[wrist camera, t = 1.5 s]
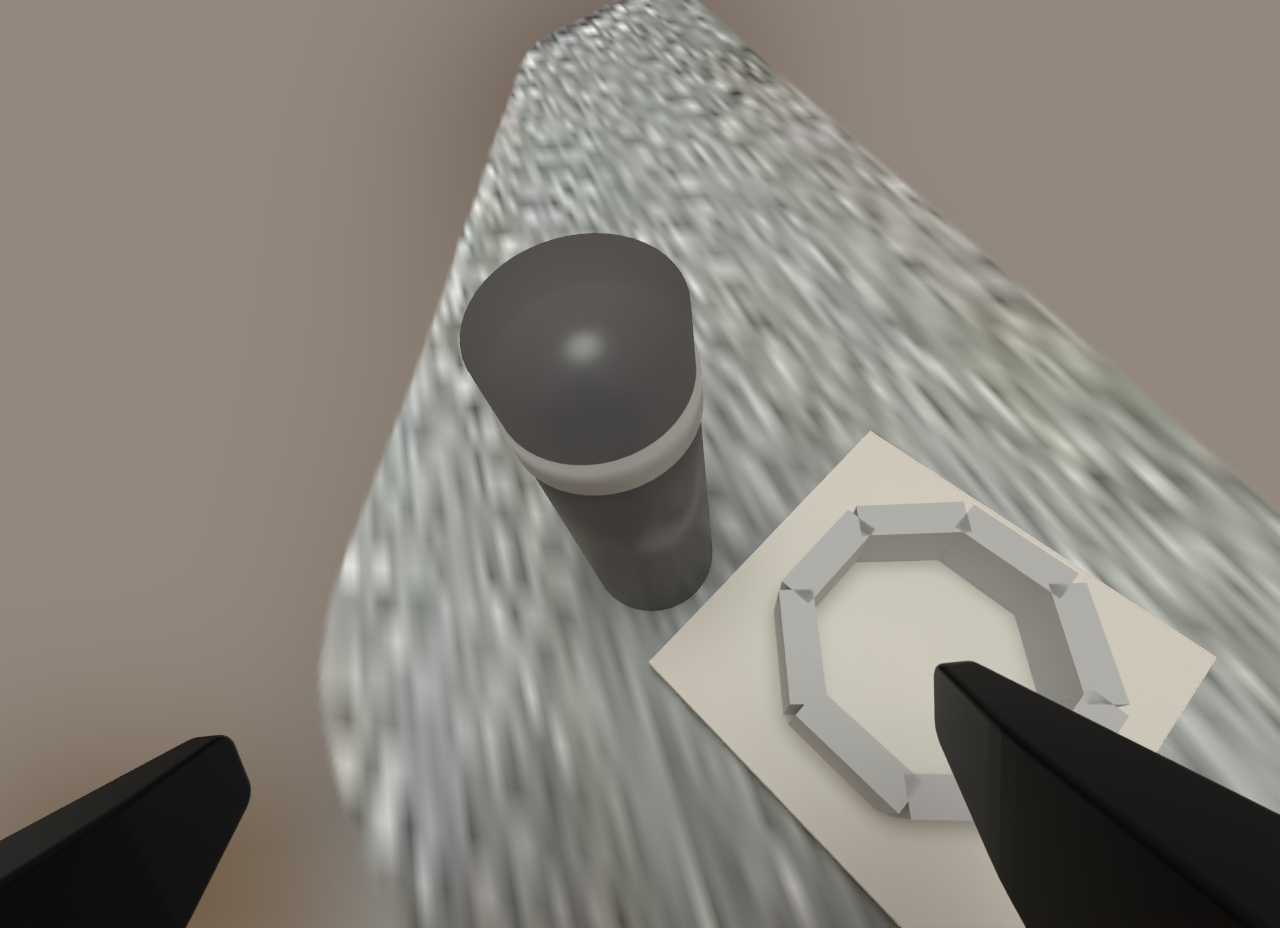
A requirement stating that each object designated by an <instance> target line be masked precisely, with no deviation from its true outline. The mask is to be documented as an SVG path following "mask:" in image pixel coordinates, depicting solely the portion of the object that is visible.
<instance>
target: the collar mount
mask: <svg viewBox="0 0 1280 928" xmlns="http://www.w3.org/2000/svg"><path fill="white" fill-rule="evenodd" d="M1216 658H1217V657H1215V656H1214V655H1212V654H1211V653H1209V652H1208V651H1206V650H1205V649H1203V648H1202V647H1200V646H1198V645H1197V644H1195V643H1194V642H1192V641H1191V640H1189V639H1188V638H1186V637H1185V636H1183V635H1182V634H1180V633H1179V632H1177V631H1176V630H1174V629H1172V628H1171V627H1169V626H1168V625H1166V624H1165V623H1163V622H1162V621H1160V620H1159V619H1157V618H1156V617H1154V616H1153V615H1151V614H1150V613H1148V612H1146V611H1145V610H1143V609H1142V608H1140V607H1139V606H1137V605H1136V604H1134V603H1133V602H1131V601H1130V600H1128V599H1127V598H1125V597H1124V596H1122V595H1120V594H1119V593H1117V592H1116V591H1114V590H1113V589H1111V588H1110V587H1108V586H1107V585H1105V584H1104V583H1102V582H1101V581H1099V580H1097V579H1096V578H1094V577H1093V576H1091V575H1090V574H1088V573H1087V572H1085V571H1084V570H1082V569H1081V568H1079V567H1078V566H1076V565H1075V564H1073V563H1071V562H1070V561H1068V560H1067V559H1065V558H1064V557H1062V556H1061V555H1059V554H1058V553H1056V552H1055V551H1053V550H1052V549H1050V548H1049V547H1047V546H1045V545H1044V544H1042V543H1041V542H1039V541H1038V540H1036V539H1035V538H1033V537H1032V536H1030V535H1029V534H1027V533H1026V532H1024V531H1023V530H1021V529H1019V528H1018V527H1016V526H1015V525H1013V524H1012V523H1010V522H1009V521H1007V520H1006V519H1004V518H1003V517H1001V516H1000V515H998V514H997V513H995V512H993V511H992V510H990V509H989V508H987V507H986V506H984V505H983V504H981V503H980V502H978V501H977V500H975V499H974V498H972V497H971V496H969V495H967V494H966V493H964V492H963V491H961V490H960V489H958V488H957V487H955V486H954V485H952V484H951V483H949V482H948V481H946V480H945V479H943V478H941V477H940V476H938V475H937V474H935V473H934V472H932V471H931V470H929V469H928V468H926V467H925V466H923V465H922V464H920V463H919V462H917V461H915V460H914V459H912V458H911V457H909V456H908V455H906V454H905V453H903V452H902V451H900V450H899V449H897V448H896V447H894V446H893V445H891V444H889V443H888V442H886V441H885V440H883V439H882V438H880V437H879V436H877V435H876V434H874V433H873V432H871V431H870V432H869V433H868V434H867V435H866V436H865V437H864V438H863V439H862V440H861V441H860V442H859V443H858V444H857V445H856V446H855V447H854V448H853V449H852V450H851V451H850V453H849V454H848V455H847V456H846V457H845V458H844V459H843V460H842V461H841V462H840V463H839V464H838V465H837V466H836V467H835V468H834V469H833V470H832V471H831V472H830V473H829V474H828V475H827V477H826V478H825V479H824V480H823V481H822V482H821V483H820V484H819V485H818V486H817V487H816V488H815V489H814V490H813V491H812V492H811V493H810V494H809V495H808V496H807V497H806V498H805V499H804V501H803V502H802V503H801V504H800V505H799V506H798V507H797V508H796V509H795V510H794V511H793V512H792V513H791V514H790V515H789V516H788V517H787V518H786V519H785V520H784V521H783V522H782V523H781V525H780V526H779V527H778V528H777V529H776V530H775V531H774V532H773V533H772V534H771V535H770V536H769V537H768V538H767V539H766V540H765V541H764V542H763V543H762V544H761V545H760V546H759V547H758V549H757V550H756V551H755V552H754V553H753V554H752V555H751V556H750V557H749V558H748V559H747V560H746V561H745V562H744V563H743V564H742V565H741V566H740V567H739V568H738V569H737V570H736V571H735V573H734V574H733V575H732V576H731V577H730V578H729V579H728V580H727V581H726V582H725V583H724V584H723V585H722V586H721V587H720V588H719V589H718V590H717V591H716V592H715V593H714V594H713V595H712V597H711V598H710V599H709V600H708V601H707V602H706V603H705V604H704V605H703V606H702V607H701V608H700V609H699V610H698V611H697V612H696V613H695V614H694V615H693V616H692V617H691V618H690V619H689V620H688V622H687V623H686V624H685V625H684V626H683V627H682V628H681V629H680V630H679V631H678V632H677V633H676V634H675V635H674V636H673V637H672V638H671V639H670V640H669V641H668V642H667V643H666V644H665V646H664V647H663V648H662V649H661V650H660V651H659V652H658V653H657V654H656V655H655V656H654V657H653V658H652V659H651V660H650V661H649V664H650V665H651V667H652V668H653V669H654V670H655V671H656V672H657V673H658V674H659V675H660V676H661V678H662V679H663V680H664V681H665V682H666V683H667V684H668V685H669V686H670V687H671V688H672V689H673V690H674V691H675V692H676V693H677V694H678V695H679V696H680V697H681V699H682V700H683V701H684V702H685V703H686V704H687V705H688V706H689V707H690V708H691V709H692V710H693V711H694V712H695V713H696V714H697V715H698V716H699V717H700V718H701V720H702V721H703V722H704V723H705V724H706V725H707V726H708V727H709V728H710V729H711V730H712V731H713V732H714V733H715V734H716V735H717V736H718V737H719V738H720V739H721V740H722V742H723V743H724V744H725V745H726V746H727V747H728V748H729V749H730V750H731V751H732V752H733V753H734V754H735V755H736V756H737V757H738V758H739V759H740V760H741V761H742V763H743V764H744V765H745V766H746V767H747V768H748V769H749V770H750V771H751V772H752V773H753V774H754V775H755V776H756V777H757V778H758V779H759V780H760V781H761V782H762V784H763V785H764V786H765V787H766V788H767V789H768V790H769V791H770V792H771V793H772V794H773V795H774V796H775V797H776V798H777V799H778V800H779V801H780V802H781V803H782V804H783V806H784V807H785V808H786V809H787V810H788V811H789V812H790V813H791V814H792V815H793V816H794V817H795V818H796V819H797V820H798V821H799V822H800V823H801V824H802V825H803V827H804V828H805V829H806V830H807V831H808V832H809V833H810V834H811V835H812V836H813V837H814V838H815V839H816V840H817V841H818V842H819V843H820V844H821V845H822V846H823V848H824V849H825V850H826V851H827V852H828V853H829V854H830V855H831V856H832V857H833V858H834V859H835V860H836V861H837V862H838V863H839V864H840V865H841V866H842V867H843V869H844V870H845V871H846V872H847V873H848V874H849V875H850V876H851V877H852V878H853V879H854V880H855V881H856V882H857V883H858V884H859V885H860V886H861V887H862V888H863V889H864V891H865V892H866V893H867V894H868V895H869V896H870V897H871V898H872V899H873V900H874V901H875V902H876V903H877V904H878V905H879V906H880V907H881V908H882V909H883V910H884V912H885V913H886V914H887V915H888V916H889V917H890V918H891V919H892V920H893V921H894V922H895V923H896V924H897V925H898V926H899V927H900V928H1026V927H1025V926H1024V924H1023V922H1022V920H1021V918H1020V917H1019V915H1018V913H1017V911H1016V909H1015V908H1014V906H1013V904H1012V902H1011V900H1010V898H1009V896H1008V895H1007V893H1006V891H1005V889H1004V887H1003V885H1002V883H1001V881H1000V879H999V877H998V875H997V873H996V871H995V869H994V866H993V864H992V862H991V860H990V858H989V856H988V853H987V851H986V849H985V846H984V844H983V842H982V840H981V837H980V835H979V833H978V830H977V828H976V826H975V823H974V821H973V819H972V817H971V814H970V812H969V810H968V807H967V805H966V803H965V801H964V798H963V796H962V794H961V791H960V789H959V787H958V784H957V782H956V780H955V778H954V775H953V773H952V771H951V768H950V766H949V764H948V762H947V759H946V757H945V755H944V752H943V750H942V748H941V745H940V743H939V740H938V737H937V733H936V729H935V721H934V671H935V667H936V666H937V665H939V664H940V663H948V662H958V661H974V662H976V663H979V664H981V665H983V666H985V667H987V668H989V669H991V670H993V671H995V672H997V673H999V674H1001V675H1003V676H1005V677H1007V678H1009V679H1011V680H1013V681H1015V682H1017V683H1019V684H1021V685H1023V686H1025V687H1027V688H1029V689H1030V690H1032V691H1034V692H1036V693H1038V694H1040V695H1042V696H1044V697H1046V698H1048V699H1050V700H1052V701H1054V702H1056V703H1058V704H1060V705H1062V706H1064V707H1066V708H1068V709H1070V710H1072V711H1074V712H1076V713H1078V714H1080V715H1082V716H1084V717H1086V718H1088V719H1090V720H1092V721H1094V722H1096V723H1098V724H1100V725H1102V726H1104V727H1106V728H1108V729H1110V730H1112V731H1114V732H1116V733H1118V734H1120V735H1122V736H1124V737H1126V738H1128V739H1130V740H1132V741H1134V742H1136V743H1138V744H1140V745H1142V746H1144V747H1146V748H1148V749H1150V750H1152V751H1154V752H1156V753H1157V751H1158V749H1159V748H1160V746H1161V745H1162V743H1163V742H1164V740H1165V738H1166V737H1167V735H1168V734H1169V732H1170V731H1171V729H1172V727H1173V726H1174V724H1175V723H1176V721H1177V719H1178V718H1179V716H1180V715H1181V713H1182V712H1183V710H1184V708H1185V707H1186V705H1187V704H1188V702H1189V701H1190V699H1191V697H1192V696H1193V694H1194V693H1195V691H1196V689H1197V688H1198V686H1199V685H1200V683H1201V682H1202V680H1203V678H1204V677H1205V675H1206V674H1207V672H1208V671H1209V669H1210V667H1211V666H1212V664H1213V663H1214V661H1215V660H1216Z"/></svg>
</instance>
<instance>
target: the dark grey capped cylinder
mask: <svg viewBox="0 0 1280 928" xmlns="http://www.w3.org/2000/svg"><path fill="white" fill-rule="evenodd" d="M460 348H461V353H462V358H463V361H464V363H465V365H466V368H467V370H468V372H469V373H470V375H471V376H472V378H473V379H474V381H475V383H476V384H477V386H478V387H479V389H480V391H481V392H482V394H483V395H484V397H485V398H486V400H487V402H488V403H489V405H490V406H491V409H492V413H493V417H494V419H495V422H496V424H497V426H498V428H499V429H500V431H501V433H502V434H503V436H504V437H505V439H506V440H507V442H508V444H509V445H510V447H511V448H512V450H513V451H514V453H515V454H516V456H517V457H518V459H519V461H520V462H521V463H522V465H523V466H524V467H525V468H526V469H527V470H528V471H529V472H530V473H531V474H532V475H533V476H535V478H536V479H537V481H538V482H539V484H540V486H541V487H542V489H543V490H544V492H545V493H546V495H547V497H548V498H549V500H550V501H551V503H552V505H553V506H554V508H555V509H556V511H557V512H558V514H559V516H560V517H561V519H562V520H563V522H564V524H565V525H566V527H567V528H568V530H569V531H570V533H571V535H572V536H573V538H574V539H575V541H576V543H577V544H578V546H579V547H580V549H581V550H582V552H583V554H584V555H585V557H586V558H587V560H588V562H589V563H590V565H591V566H592V568H593V569H594V571H595V573H596V574H597V576H598V577H599V579H600V581H601V582H602V584H603V585H604V587H605V588H606V590H607V591H608V592H609V593H610V594H611V595H612V596H613V597H614V598H615V599H617V600H618V601H620V602H621V603H623V604H625V605H627V606H629V607H632V608H636V609H640V610H649V611H654V610H663V609H667V608H671V607H673V606H676V605H678V604H680V603H682V602H684V601H685V600H687V599H688V598H690V597H691V596H692V595H693V594H694V593H695V592H696V591H697V590H698V589H699V588H700V586H701V585H702V583H703V582H704V580H705V579H706V576H707V574H708V572H709V569H710V566H711V560H712V543H711V531H710V520H709V508H708V497H707V485H706V474H705V462H704V451H703V439H702V428H701V418H702V413H703V388H702V374H701V364H700V356H699V353H698V349H697V346H696V344H695V342H694V336H693V324H692V312H691V302H690V294H689V290H688V287H687V284H686V281H685V279H684V278H683V276H682V274H681V272H680V271H679V269H678V268H677V267H676V265H675V264H674V263H673V262H672V261H671V260H670V259H669V258H668V257H667V256H666V255H664V254H663V253H662V252H660V251H659V250H657V249H656V248H654V247H652V246H650V245H648V244H646V243H644V242H641V241H639V240H636V239H633V238H629V237H625V236H621V235H614V234H603V233H589V234H577V235H570V236H565V237H561V238H557V239H553V240H550V241H547V242H544V243H541V244H538V245H536V246H534V247H532V248H529V249H527V250H525V251H523V252H522V253H520V254H518V255H516V256H514V257H513V258H511V259H510V260H508V261H507V262H505V263H504V264H503V265H502V266H500V267H499V268H498V269H497V270H495V271H494V272H493V273H492V274H491V275H490V276H489V277H488V278H487V279H486V280H485V281H484V282H483V284H482V285H481V286H480V287H479V289H478V290H477V291H476V293H475V294H474V296H473V298H472V299H471V301H470V303H469V305H468V307H467V309H466V311H465V314H464V317H463V321H462V324H461V331H460Z"/></svg>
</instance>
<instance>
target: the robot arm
mask: <svg viewBox="0 0 1280 928" xmlns="http://www.w3.org/2000/svg"><path fill="white" fill-rule="evenodd" d="M934 721H935V729H936V733H937V737H938V740H939V743H940V745H941V748H942V750H943V752H944V755H945V757H946V759H947V762H948V764H949V766H950V768H951V771H952V773H953V775H954V778H955V780H956V782H957V784H958V787H959V789H960V791H961V794H962V796H963V798H964V801H965V803H966V805H967V807H968V810H969V812H970V814H971V817H972V819H973V821H974V823H975V826H976V828H977V830H978V833H979V835H980V837H981V840H982V842H983V844H984V846H985V849H986V851H987V853H988V856H989V858H990V860H991V862H992V864H993V866H994V869H995V871H996V873H997V875H998V877H999V879H1000V881H1001V883H1002V885H1003V887H1004V889H1005V891H1006V893H1007V895H1008V896H1009V898H1010V900H1011V902H1012V904H1013V906H1014V908H1015V909H1016V911H1017V913H1018V915H1019V917H1020V918H1021V920H1022V922H1023V924H1024V926H1025V927H1026V928H1280V814H1278V813H1276V812H1274V811H1272V810H1270V809H1268V808H1266V807H1264V806H1262V805H1260V804H1258V803H1256V802H1254V801H1252V800H1250V799H1248V798H1246V797H1244V796H1242V795H1240V794H1238V793H1236V792H1234V791H1232V790H1230V789H1228V788H1226V787H1224V786H1222V785H1220V784H1218V783H1216V782H1214V781H1212V780H1210V779H1208V778H1206V777H1204V776H1202V775H1200V774H1198V773H1196V772H1194V771H1192V770H1190V769H1188V768H1186V767H1184V766H1182V765H1180V764H1178V763H1176V762H1174V761H1172V760H1170V759H1168V758H1166V757H1164V756H1162V755H1160V754H1158V753H1156V752H1154V751H1152V750H1150V749H1148V748H1146V747H1144V746H1142V745H1140V744H1138V743H1136V742H1134V741H1132V740H1130V739H1128V738H1126V737H1124V736H1122V735H1120V734H1118V733H1116V732H1114V731H1112V730H1110V729H1108V728H1106V727H1104V726H1102V725H1100V724H1098V723H1096V722H1094V721H1092V720H1090V719H1088V718H1086V717H1084V716H1082V715H1080V714H1078V713H1076V712H1074V711H1072V710H1070V709H1068V708H1066V707H1064V706H1062V705H1060V704H1058V703H1056V702H1054V701H1052V700H1050V699H1048V698H1046V697H1044V696H1042V695H1040V694H1038V693H1036V692H1034V691H1032V690H1030V689H1029V688H1027V687H1025V686H1023V685H1021V684H1019V683H1017V682H1015V681H1013V680H1011V679H1009V678H1007V677H1005V676H1003V675H1001V674H999V673H997V672H995V671H993V670H991V669H989V668H987V667H985V666H983V665H981V664H979V663H976V662H974V661H958V662H948V663H940V664H939V665H937V666H936V667H935V671H934ZM250 795H251V785H250V781H249V779H248V776H247V774H246V771H245V769H244V766H243V764H242V761H241V759H240V756H239V754H238V751H237V749H236V746H235V744H234V742H233V741H232V740H231V739H230V738H229V737H228V736H224V735H214V736H205V737H196V738H193V739H190V740H188V741H186V742H184V743H182V744H180V745H179V746H177V747H175V748H173V749H171V750H169V751H167V752H165V753H164V754H162V755H160V756H158V757H156V758H154V759H152V760H151V761H149V762H147V763H145V764H143V765H141V766H139V767H137V768H135V769H134V770H132V771H130V772H128V773H126V774H124V775H122V776H120V777H119V778H117V779H115V780H113V781H111V782H109V783H107V784H105V785H104V786H102V787H100V788H98V789H96V790H94V791H92V792H90V793H89V794H87V795H85V796H83V797H81V798H79V799H77V800H75V801H74V802H72V803H70V804H68V805H66V806H65V807H62V808H61V809H59V810H57V811H55V812H53V813H51V814H49V815H47V816H46V817H44V818H42V819H40V820H38V821H36V822H34V823H33V824H31V825H29V826H27V827H25V828H23V829H21V830H19V831H17V832H16V833H14V834H12V835H10V836H8V837H6V838H4V839H3V840H1V841H0V928H186V927H187V925H188V923H189V921H190V919H191V917H192V915H193V913H194V911H195V909H196V907H197V905H198V903H199V901H200V899H201V897H202V895H203V894H204V891H205V889H206V888H207V885H208V884H209V882H210V880H211V878H212V875H213V874H214V872H215V870H216V868H217V866H218V864H219V862H220V860H221V858H222V856H223V854H224V852H225V850H226V848H227V846H228V844H229V842H230V840H231V838H232V836H233V834H234V832H235V830H236V828H237V826H238V824H239V822H240V820H241V818H242V816H243V814H244V812H245V810H246V808H247V806H248V803H249V800H250Z"/></svg>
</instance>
